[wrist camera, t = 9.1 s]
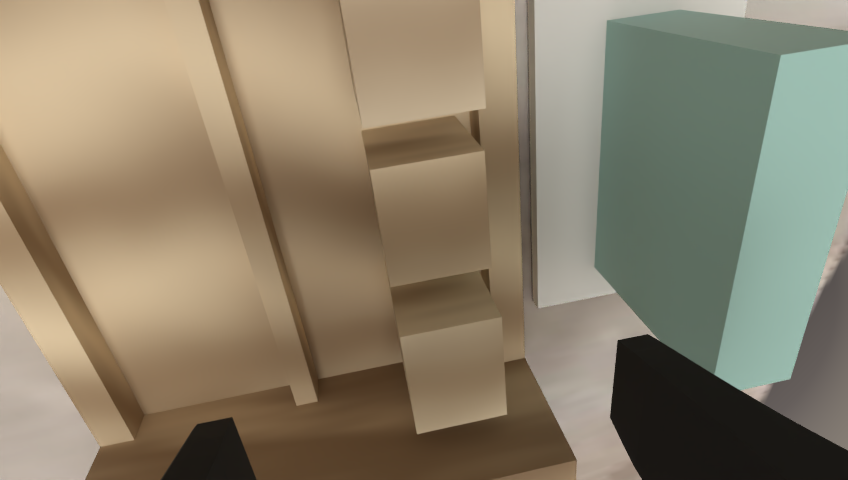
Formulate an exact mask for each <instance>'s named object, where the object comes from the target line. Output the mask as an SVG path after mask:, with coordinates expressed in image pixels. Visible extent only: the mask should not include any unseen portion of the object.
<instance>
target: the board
mask: <svg viewBox="0 0 848 480" xmlns="http://www.w3.org/2000/svg"><path fill="white" fill-rule="evenodd" d="M847 190H848V31H845V30H837V29H829V28H821V27H813V26H805V25H797V24H790V23H782V22H774V21H766V20H758V19H750V18H742V17H735V16H727V15H719V14H711V13H703V12H695V11H687V10H673V11H667V12H660V13H653V14H647V15H640V16H633V17H627V18H620V19H613V20H607V28H606V47H605V67H604V87H603V106H602V126H601V146H600V165H599V185H598V205H597V225H596V244H595V264H594V267H595V269H596V270H597V271H598V272H599V273H600V274H601V275H602V276H603V278H604V279H605V280H606V281H607V282H608V283H609V284H610V285H611V286H612V288H613V289H614V290H615V291H616V292H617V293H618V294H619V295H620V297H621V298H622V299H623V300H624V301H625V302H626V303H627V304H628V306H629V307H630V308H631V309H632V310H633V311H634V312H635V313H636V315H637V316H638V317H639V318H640V319H641V320H642V321H643V322H644V324H645V325H646V326H647V327H648V328H649V329H650V330H651V331H652V333H653V334H654V335H655V336H656V337H657V338H658V339H659V340H660V341H661V342H662V343H664V344H665V345H667V346H669V347H670V348H672V349H674V350H675V351H677V352H678V353H680V354H682V355H683V356H685V357H687V358H688V359H690V360H691V361H693V362H695V363H696V364H698V365H699V366H701V367H703V368H704V369H706V370H708V371H709V372H711V373H712V374H714V375H716V376H717V377H719V378H721V379H722V380H724V381H726V382H727V383H729V384H730V385H732V386H734V387H735V388H737V389H739V390H743V389H748V388H752V387H757V386H761V385H766V384H770V383H775V382H779V381H783V380H788V379H790V378H791V374H792V371H793V368H794V365H795V361H796V358H797V355H798V352H799V348H800V345H801V342H802V338H803V335H804V332H805V328H806V325H807V322H808V319H809V315H810V312H811V309H812V305H813V302H814V299H815V296H816V292H817V289H818V286H819V282H820V279H821V276H822V273H823V269H824V266H825V263H826V259H827V256H828V253H829V249H830V246H831V243H832V240H833V236H834V233H835V230H836V226H837V223H838V220H839V217H840V213H841V210H842V207H843V203H844V200H845V197H846V194H847Z"/></svg>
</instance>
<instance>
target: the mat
mask: <svg viewBox="0 0 848 480" xmlns="http://www.w3.org/2000/svg"><path fill="white" fill-rule="evenodd" d="M527 1H528V58H529V114H530V171H531V227H532V284H533V301H534V303H535V305H536V306H537V308H543V307H548V306H553V305H558V304H563V303H568V302H573V301H578V300H583V299H588V298H593V297H598V296H603V295H608V294H613V293H617V292H616V291H615V290H614V289H613V288H612V286H611V285H610V284H609V283H608V282H607V281H606V280H605V279H604V278H603V276H602V275H601V274H600V273H599V272H598V271H597V270H596V269H595V267H594V264H595V244H596V225H597V205H598V185H599V165H600V146H601V126H602V106H603V87H604V67H605V47H606V28H607V20H613V19H620V18H627V17H633V16H640V15H647V14H653V13H660V12H667V11H673V10H687V11H695V12H703V13H711V14H719V15H727V16H735V17H742V18H744V17H745V11H746V5H747V0H527Z"/></svg>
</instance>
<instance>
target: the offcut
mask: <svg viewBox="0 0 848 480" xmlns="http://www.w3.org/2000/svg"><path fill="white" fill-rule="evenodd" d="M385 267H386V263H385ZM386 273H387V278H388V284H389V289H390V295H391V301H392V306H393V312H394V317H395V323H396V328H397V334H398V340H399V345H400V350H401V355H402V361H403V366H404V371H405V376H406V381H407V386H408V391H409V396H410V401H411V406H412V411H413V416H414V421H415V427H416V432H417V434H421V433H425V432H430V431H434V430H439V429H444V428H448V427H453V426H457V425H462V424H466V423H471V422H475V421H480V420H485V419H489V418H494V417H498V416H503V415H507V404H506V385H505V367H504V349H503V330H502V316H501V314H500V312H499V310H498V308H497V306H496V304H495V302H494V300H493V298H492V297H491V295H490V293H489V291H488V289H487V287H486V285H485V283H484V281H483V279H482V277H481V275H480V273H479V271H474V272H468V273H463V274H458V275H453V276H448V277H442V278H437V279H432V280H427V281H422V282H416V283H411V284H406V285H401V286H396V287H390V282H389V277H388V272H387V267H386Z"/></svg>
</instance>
